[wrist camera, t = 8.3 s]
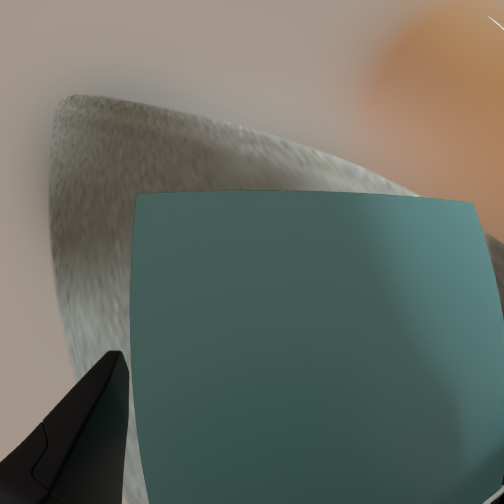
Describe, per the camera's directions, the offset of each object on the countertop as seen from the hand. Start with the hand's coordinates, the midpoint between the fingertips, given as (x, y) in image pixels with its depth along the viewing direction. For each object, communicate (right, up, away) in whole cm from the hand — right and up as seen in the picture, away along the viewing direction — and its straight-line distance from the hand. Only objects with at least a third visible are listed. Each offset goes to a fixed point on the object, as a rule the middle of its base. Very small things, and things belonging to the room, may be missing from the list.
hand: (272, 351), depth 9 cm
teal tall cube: (-1, -4, +7) cm, 8 cm away
